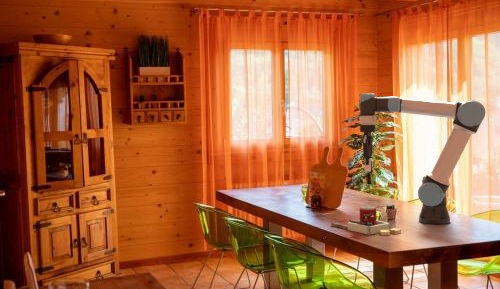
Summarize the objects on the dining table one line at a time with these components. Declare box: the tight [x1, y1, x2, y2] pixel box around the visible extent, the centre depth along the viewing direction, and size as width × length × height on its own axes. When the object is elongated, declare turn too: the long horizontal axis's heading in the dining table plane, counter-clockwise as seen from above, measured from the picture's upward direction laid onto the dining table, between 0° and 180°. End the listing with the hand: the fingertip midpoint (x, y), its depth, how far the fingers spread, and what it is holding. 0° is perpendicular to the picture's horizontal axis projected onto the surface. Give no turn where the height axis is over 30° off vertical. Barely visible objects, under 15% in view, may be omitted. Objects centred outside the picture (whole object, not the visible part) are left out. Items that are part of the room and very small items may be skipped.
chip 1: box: [379, 230, 391, 236], centre depth 279 cm, size 4×4×2 cm
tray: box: [347, 219, 392, 235], centre depth 288 cm, size 14×14×4 cm
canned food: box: [359, 205, 377, 226], centre depth 289 cm, size 8×8×11 cm
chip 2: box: [389, 227, 402, 235], centre depth 281 cm, size 4×4×2 cm
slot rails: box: [330, 219, 360, 231], centre depth 300 cm, size 12×14×2 cm
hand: (367, 171), depth 304 cm, fingers closed
